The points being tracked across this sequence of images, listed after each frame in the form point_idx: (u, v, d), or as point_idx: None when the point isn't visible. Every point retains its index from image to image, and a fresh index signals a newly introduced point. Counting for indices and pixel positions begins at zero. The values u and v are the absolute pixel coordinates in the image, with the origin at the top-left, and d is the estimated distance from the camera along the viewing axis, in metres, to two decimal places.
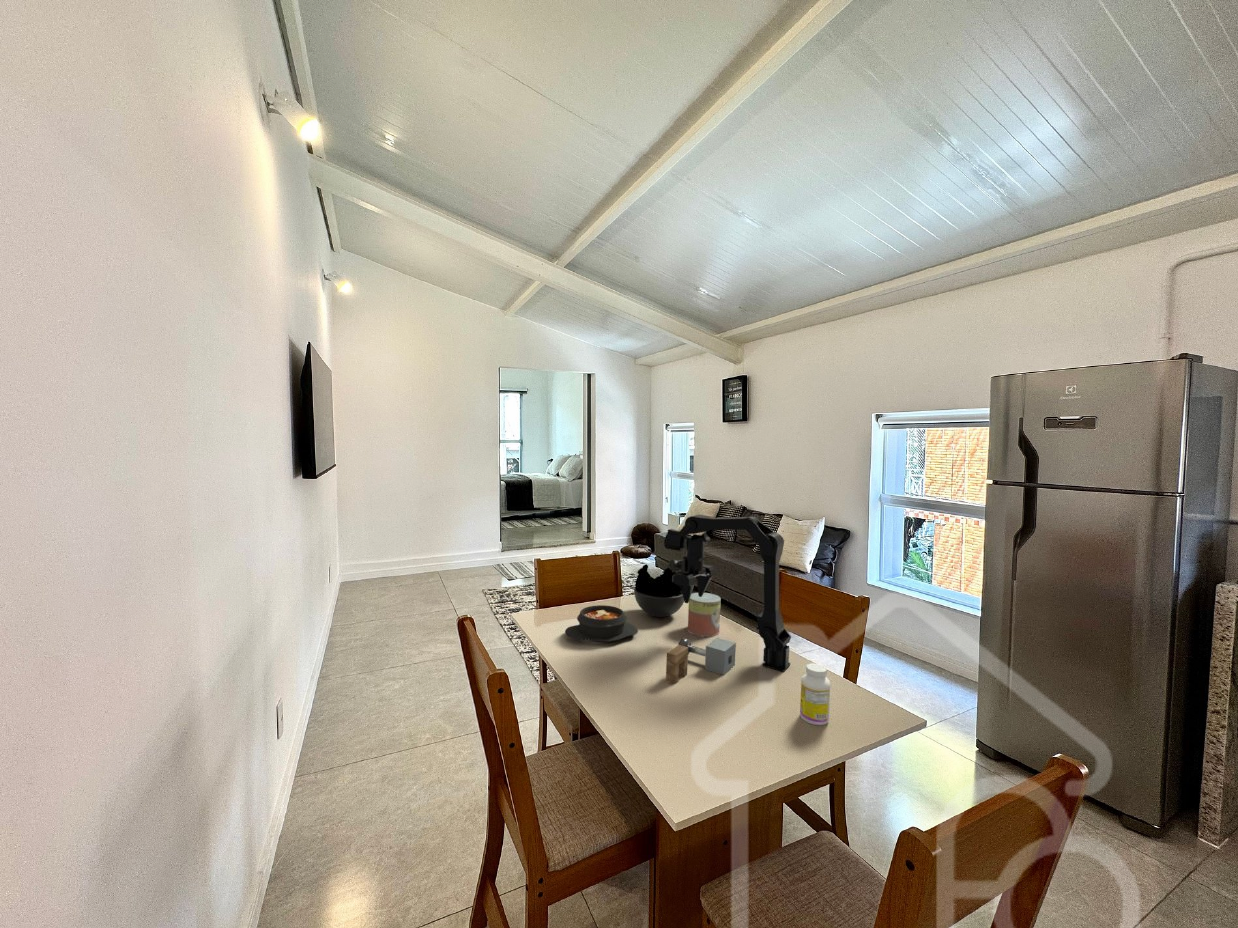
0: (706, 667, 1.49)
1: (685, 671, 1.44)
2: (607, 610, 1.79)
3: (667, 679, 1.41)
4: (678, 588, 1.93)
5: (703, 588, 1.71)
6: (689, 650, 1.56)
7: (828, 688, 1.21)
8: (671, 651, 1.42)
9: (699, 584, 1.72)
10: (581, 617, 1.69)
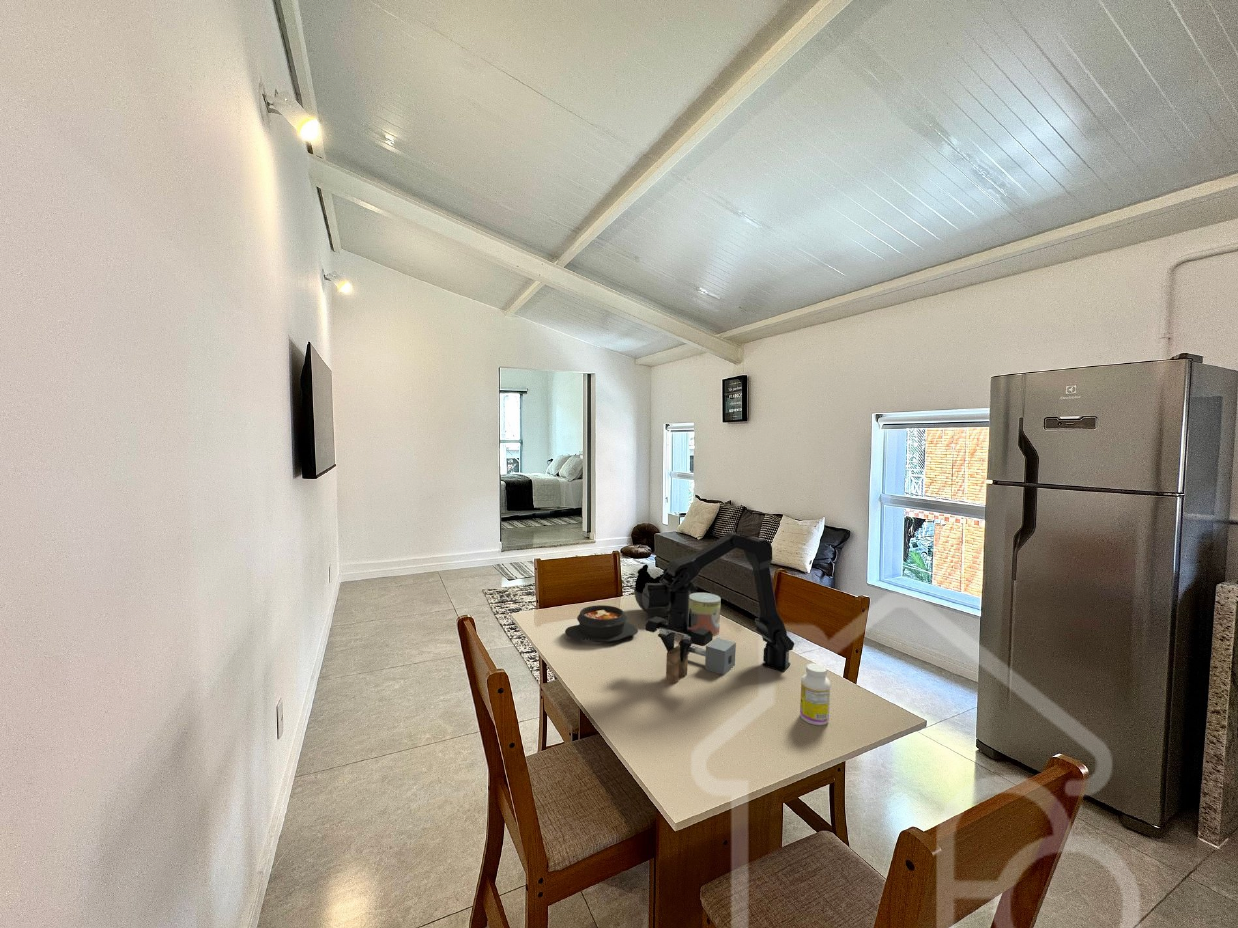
0: (706, 667, 1.49)
1: (685, 671, 1.44)
2: (607, 610, 1.79)
3: (667, 679, 1.41)
4: None
5: None
6: (689, 650, 1.56)
7: (828, 688, 1.21)
8: (671, 651, 1.42)
9: None
10: (581, 617, 1.69)
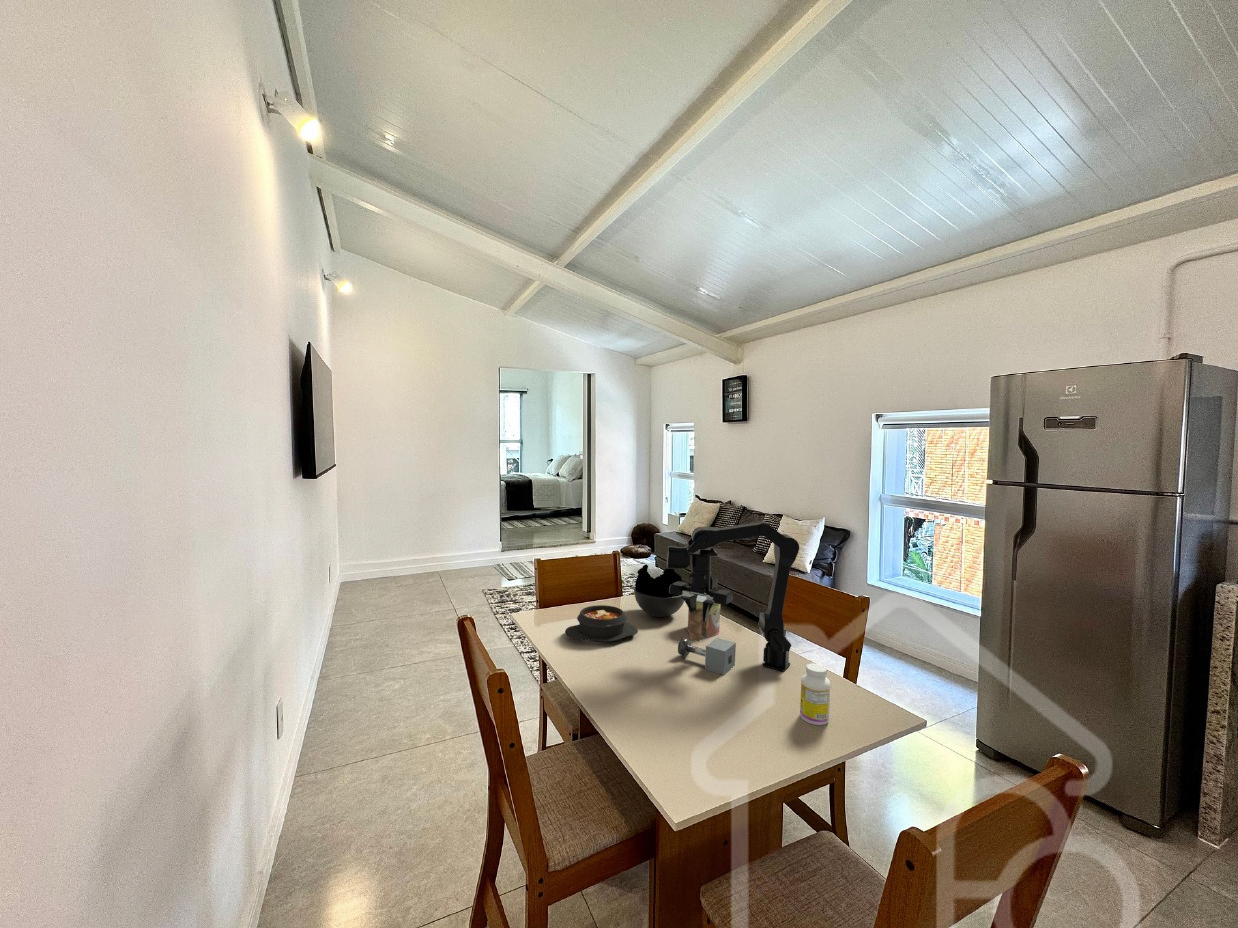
0: (706, 667, 1.49)
1: (706, 630, 1.55)
2: (607, 610, 1.79)
3: (691, 637, 1.52)
4: None
5: None
6: (689, 650, 1.56)
7: (828, 688, 1.21)
8: (694, 611, 1.52)
9: None
10: (581, 617, 1.69)
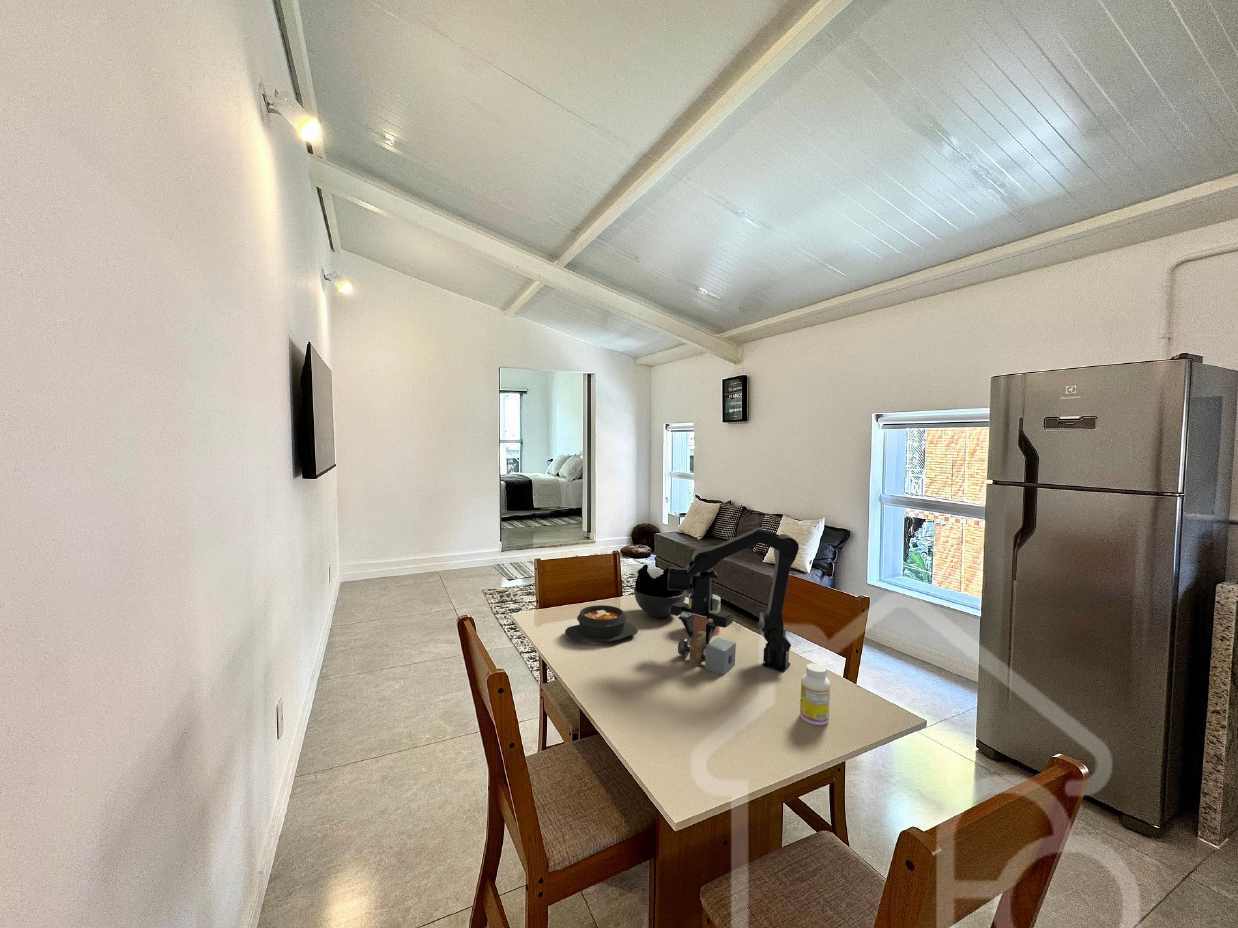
0: (706, 667, 1.49)
1: None
2: (607, 610, 1.79)
3: (690, 662, 1.53)
4: None
5: None
6: (689, 650, 1.56)
7: (828, 688, 1.21)
8: (694, 636, 1.53)
9: None
10: (581, 617, 1.69)
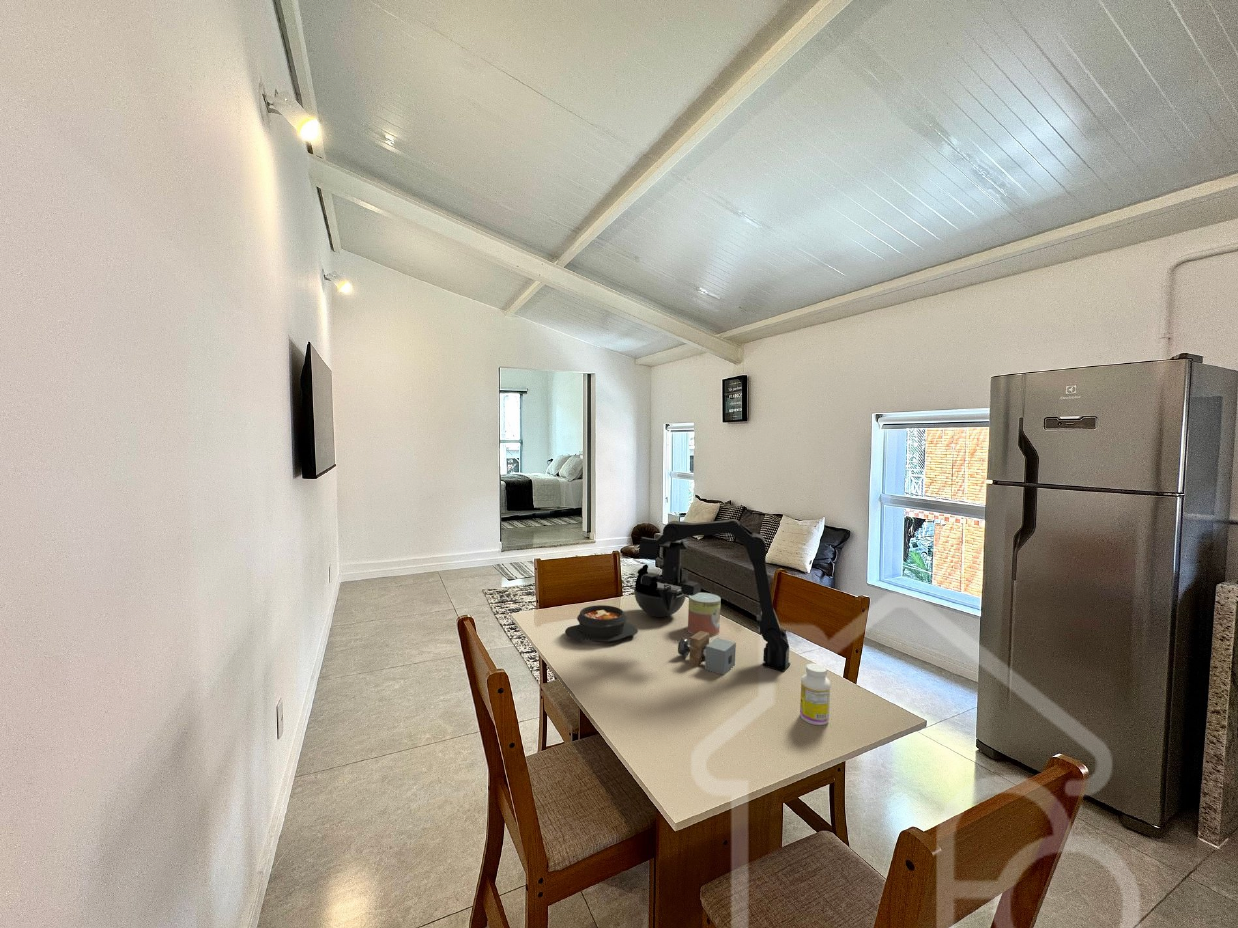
0: (706, 667, 1.49)
1: None
2: (607, 610, 1.79)
3: (690, 662, 1.53)
4: None
5: None
6: (689, 650, 1.56)
7: (828, 688, 1.21)
8: (694, 636, 1.53)
9: None
10: (581, 617, 1.69)
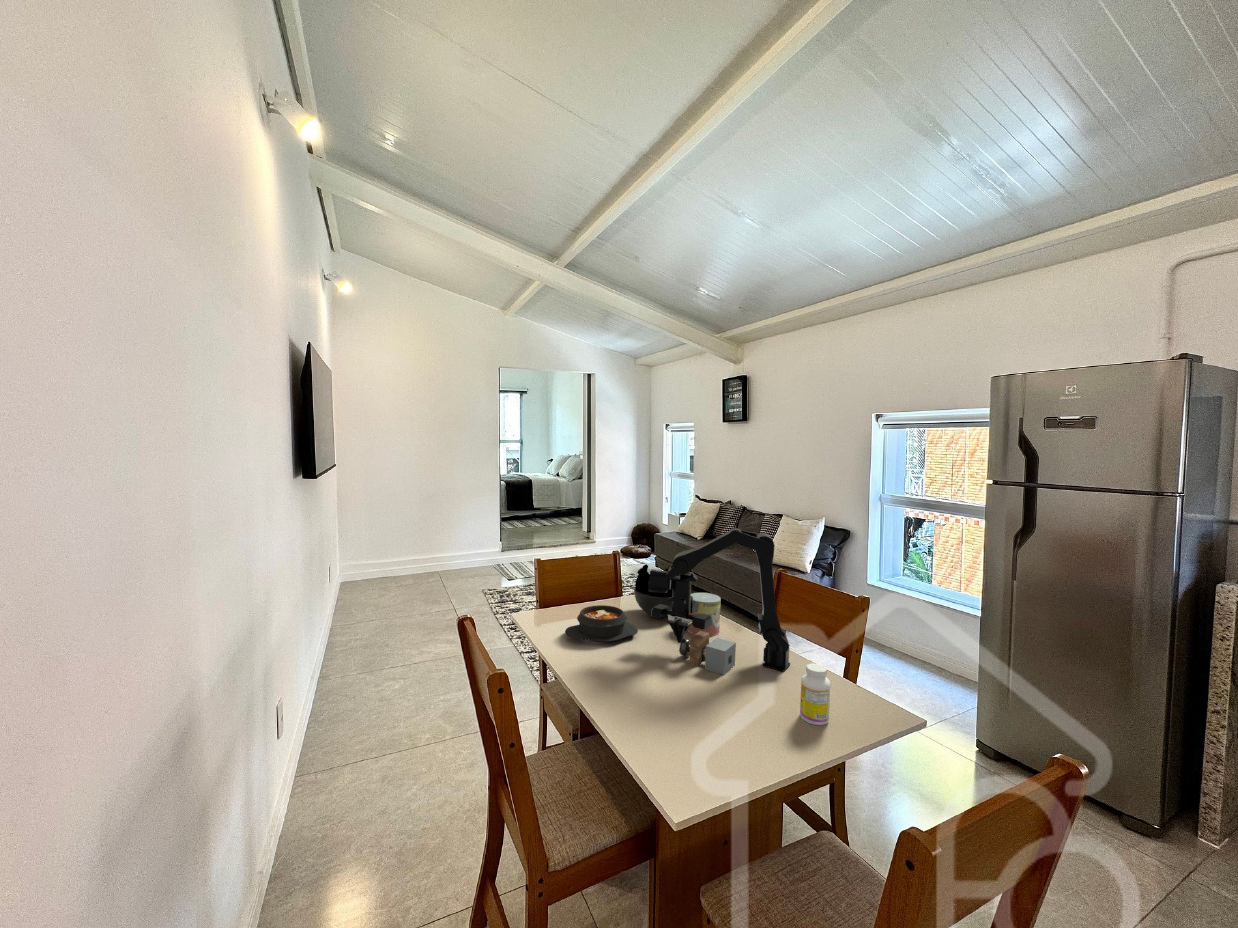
0: (706, 667, 1.49)
1: None
2: (607, 610, 1.79)
3: (690, 662, 1.53)
4: None
5: None
6: None
7: (828, 688, 1.21)
8: (694, 636, 1.53)
9: None
10: (581, 617, 1.69)
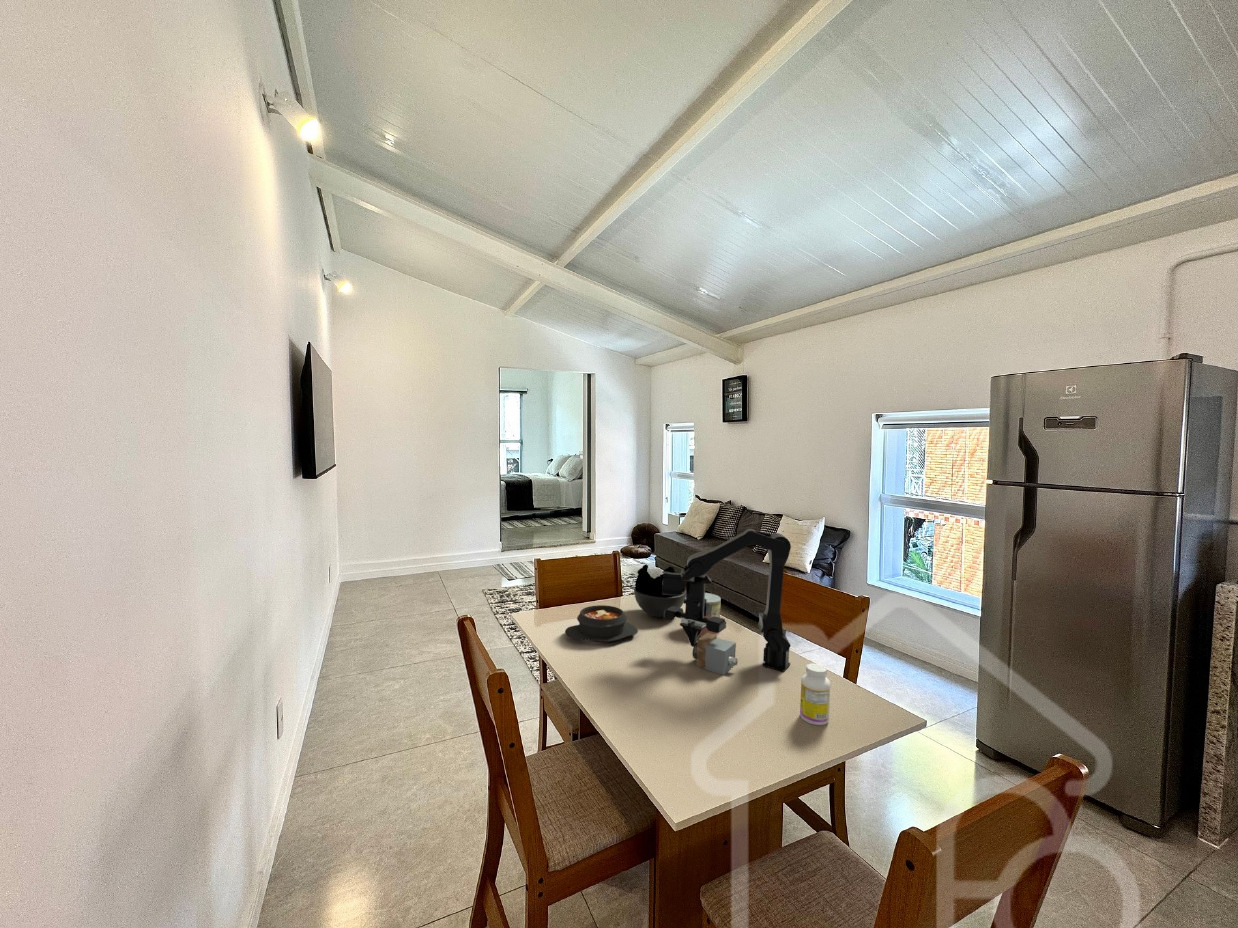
0: (706, 667, 1.49)
1: None
2: (607, 610, 1.79)
3: (698, 664, 1.51)
4: None
5: None
6: None
7: (828, 688, 1.21)
8: (701, 638, 1.52)
9: None
10: (581, 617, 1.69)
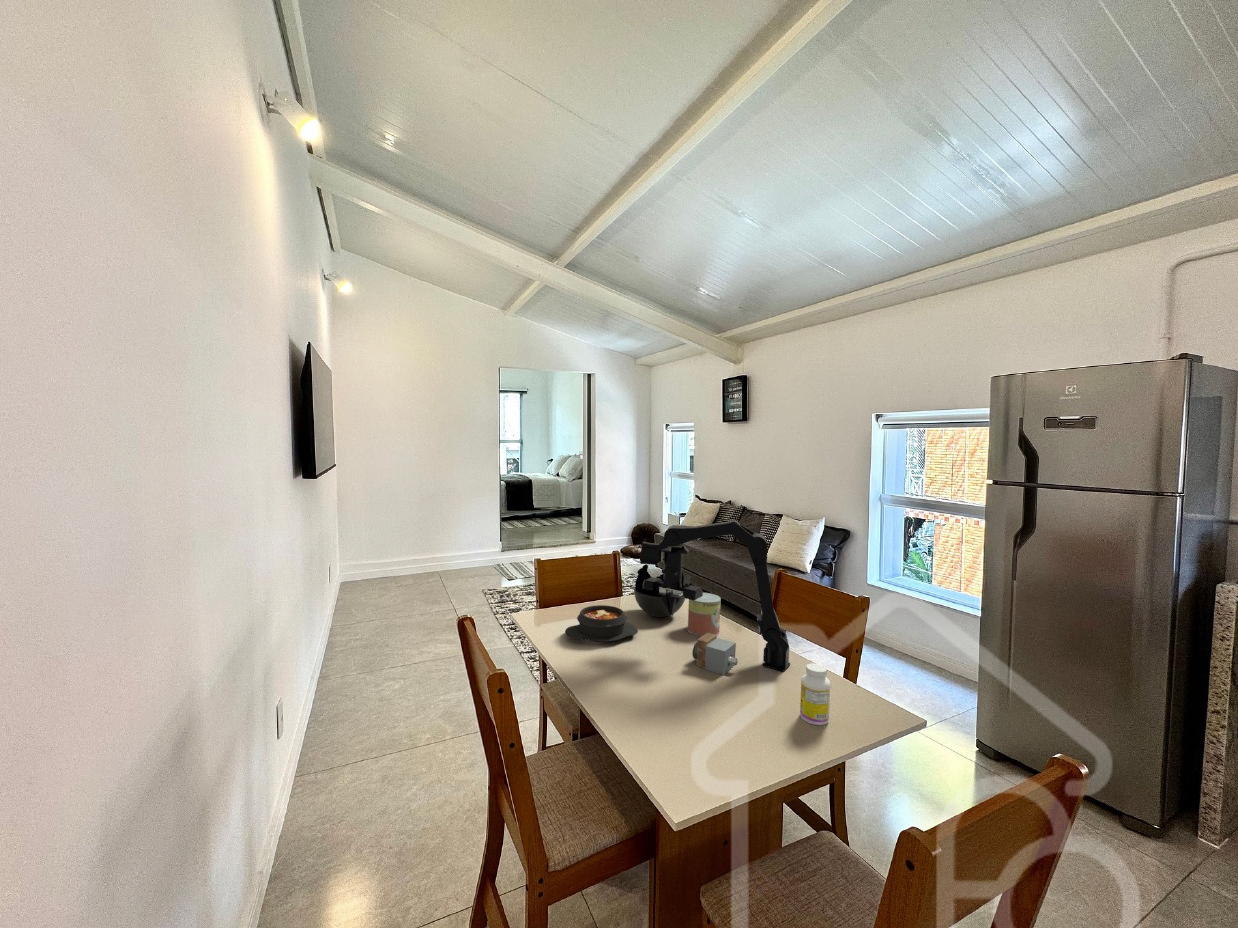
0: (706, 667, 1.49)
1: None
2: (607, 610, 1.79)
3: (698, 664, 1.51)
4: None
5: None
6: None
7: (828, 688, 1.21)
8: (701, 638, 1.52)
9: None
10: (581, 617, 1.69)
